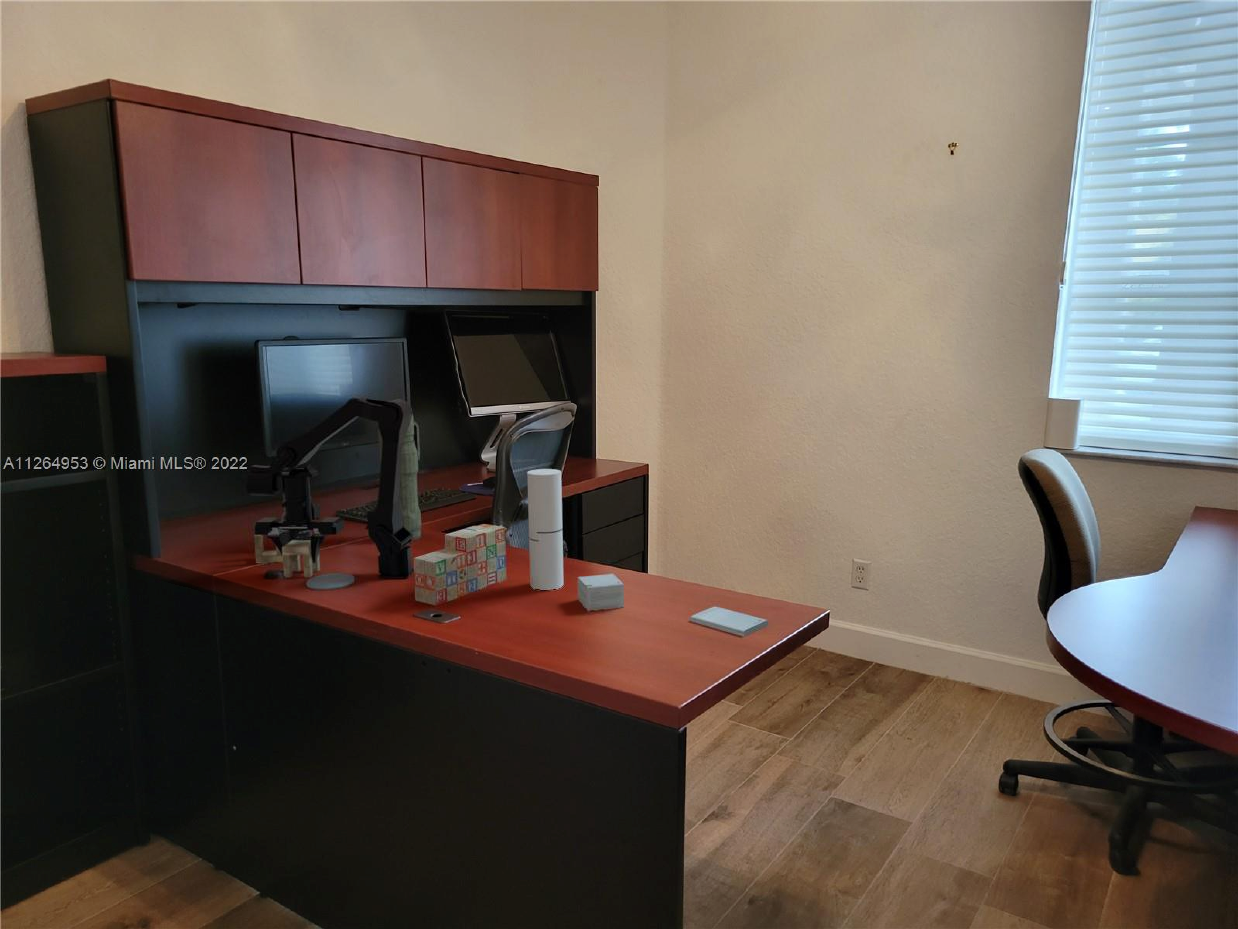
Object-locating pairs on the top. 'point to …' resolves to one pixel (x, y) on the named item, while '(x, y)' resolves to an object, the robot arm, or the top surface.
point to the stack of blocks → (461, 564)
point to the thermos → (409, 480)
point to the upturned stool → (266, 552)
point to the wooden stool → (292, 558)
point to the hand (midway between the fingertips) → (301, 562)
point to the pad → (330, 581)
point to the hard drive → (729, 621)
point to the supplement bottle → (297, 533)
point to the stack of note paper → (601, 592)
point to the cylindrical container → (545, 529)
